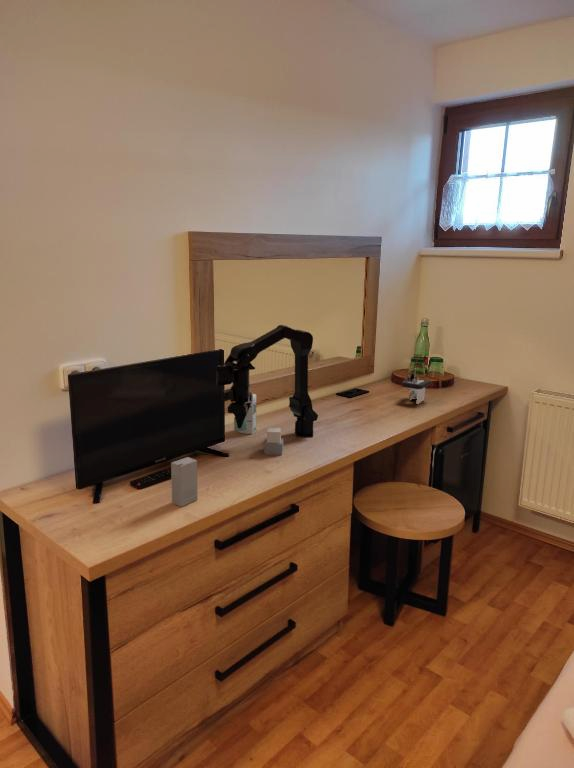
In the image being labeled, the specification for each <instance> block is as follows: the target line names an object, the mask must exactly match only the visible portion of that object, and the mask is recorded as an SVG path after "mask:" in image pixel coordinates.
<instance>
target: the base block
mask: <svg viewBox="0 0 574 768" xmlns="http://www.w3.org/2000/svg"><path fill="white" fill-rule="evenodd" d="M283 452H284V438H281V440H280V443H267V437H266V438H265V441H264V455H276V456H279V455H280V456H282V455H283Z"/></svg>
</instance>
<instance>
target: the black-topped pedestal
mask: <svg viewBox="0 0 574 768" xmlns="http://www.w3.org/2000/svg"><path fill="white" fill-rule="evenodd" d="M428 386H431V380H428V379H424V378H423V379H422V378H419V377H417V376H416V372H415V371H414V372H413V373H410V374H409V375H406V378H405V379H404V380H402V383H401V387H403V388H409V395H408V396H409V399H408V401H409V400H411V401H412V400H413V398H415V399H417V400H415V401H416V402H415V403H416V404H418V403H419V402H421V401H423V400H424V401H425V394H426V393H425V392H426V388H427V387H428ZM416 404H415V405H416ZM418 405H419V404H418Z"/></svg>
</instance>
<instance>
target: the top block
mask: <svg viewBox="0 0 574 768" xmlns="http://www.w3.org/2000/svg"><path fill="white" fill-rule="evenodd" d="M281 436H282V428H281V427H267V431H266V438H267V443H280V440H281V439H282V437H281Z"/></svg>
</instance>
